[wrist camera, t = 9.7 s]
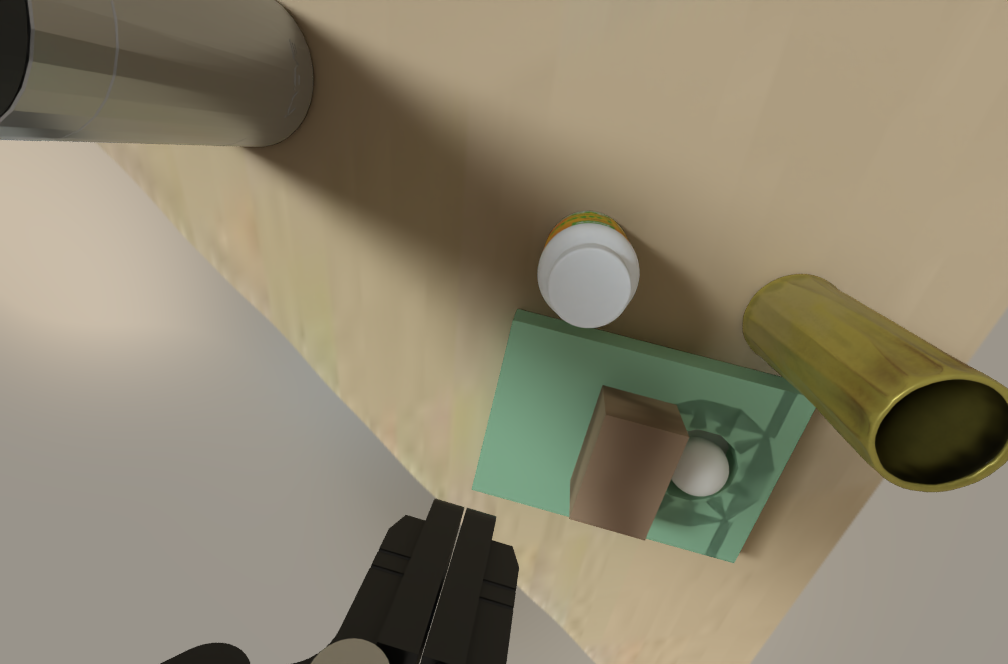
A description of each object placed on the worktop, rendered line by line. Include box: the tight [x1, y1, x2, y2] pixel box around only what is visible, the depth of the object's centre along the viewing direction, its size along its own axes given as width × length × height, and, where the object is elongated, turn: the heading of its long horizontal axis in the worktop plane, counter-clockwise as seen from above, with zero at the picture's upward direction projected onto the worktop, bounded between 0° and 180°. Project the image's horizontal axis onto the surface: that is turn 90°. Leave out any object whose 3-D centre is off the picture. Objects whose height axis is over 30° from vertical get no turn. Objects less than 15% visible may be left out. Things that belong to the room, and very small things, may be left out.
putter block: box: [569, 385, 689, 540], centre depth 32 cm, size 5×8×4 cm, turn 167°
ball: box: [672, 437, 729, 496], centre depth 34 cm, size 4×4×4 cm
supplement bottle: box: [537, 211, 640, 328], centre depth 28 cm, size 5×5×10 cm
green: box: [472, 309, 816, 563], centre depth 35 cm, size 20×14×2 cm
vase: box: [743, 274, 1008, 492], centre depth 25 cm, size 6×6×14 cm
